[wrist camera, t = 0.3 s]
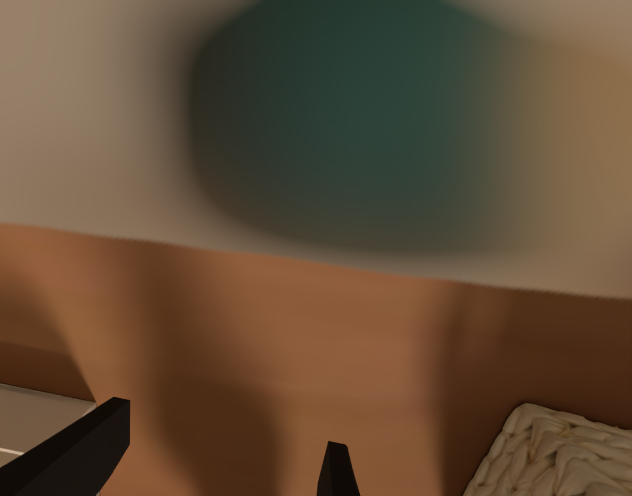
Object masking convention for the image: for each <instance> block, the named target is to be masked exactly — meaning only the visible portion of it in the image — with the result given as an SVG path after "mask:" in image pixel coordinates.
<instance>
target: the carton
mask: <svg viewBox="0 0 632 496" xmlns="http://www.w3.org/2000/svg"><path fill="white" fill-rule="evenodd" d="M95 408H96V402H91V401H86V400H81V399H76V398H71V397H66V396H61V395H56V394H51V393H46V392H41V391H36V390H31V389H26V388H21V387H16V386H11V385H6V384H1V383H0V451H4V452H9V453H14V454H18V455H22V454H24V453H26V452H27V451H29V450H31V449H32V448H34V447H35V446H37V445H39V444H40V443H42V442H43V441H45V440H47V439H48V438H50V437H51V436H53V435H55V434H56V433H58V432H59V431H61V430H63V429H64V428H66V427H67V426H69V425H70V424H72V423H74V422H75V421H77V420H78V419H80V418H81V417H83V416H84V415H86V414H87V413H89V412H91V411H92V410H94V409H95ZM96 496H100V491H99V492H98V494H97V495H96Z"/></svg>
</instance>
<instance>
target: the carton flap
mask: <svg viewBox="0 0 632 496" xmlns="http://www.w3.org/2000/svg"><path fill="white" fill-rule="evenodd" d="M19 456H21V455H18V454H14V453H9V452H4V451H0V467H2V466H4V465H5V464H7V463H9V462H10V461H12V460H14V459H15V458H17V457H19Z"/></svg>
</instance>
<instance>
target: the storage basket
mask: <svg viewBox="0 0 632 496" xmlns="http://www.w3.org/2000/svg"><path fill="white" fill-rule="evenodd" d="M463 496H632V430H623V429H619V428H618V427H617V426H615V427H611V426H608V425H606V424H603V423H600V422H595V423H594V422H591V421H588V420H587V419H585V418H584V416H579V415H575V414H572V413H567V412H563V411H560V412H558V411H555V410H552V409H548V408H545V407H542V406H539V405H535V404H531V403H525V404H523V405H521V406H519V407H517V408H516V409H515V410H514V411H513V412H512V413H511V414H510V416H509V417H508V419H507V420H506V422H505V424H504V426H503V429H502V432H501V433H500V434H499V435H498V436H497V438H496V439H495V441H494V443H493V445H492V446H491V448H490V451H489V453H488V455H487V456H485V457H484V459H483V460H482V462H481V464H480V465H479V467H478V469H477V471H476V473H475V475H474V478H473V479H472V480H471V481H470V482H469V484H468V486H467V488H466V490H465V492H464V494H463Z"/></svg>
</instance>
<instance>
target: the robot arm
mask: <svg viewBox="0 0 632 496" xmlns="http://www.w3.org/2000/svg"><path fill="white" fill-rule="evenodd" d="M129 445H130V400H127V399H122V398H117V397H113V398H111V399H109V400H108V401H106V402H105V403H103V404H101V405H100V406H98V407H97V408H95V409H94V410H92V411H91V412H89V413H87V414H86V415H84V416H83V417H81V418H80V419H78V420H77V421H75V422H74V423H72V424H70V425H69V426H67V427H66V428H64V429H63V430H61V431H59V432H58V433H56V434H55V435H53V436H51V437H50V438H48V439H47V440H45V441H43V442H42V443H40V444H39V445H37V446H35V447H34V448H32V449H31V450H29V451H27V452H26V453H24V454H22V455H21V456H19V457H17V458H15V459H14V460H12V461H10V462H9V463H7V464H5V465H4V466H2V467H0V496H96V495H97V494H98V492H99V491H100V490H101V488H102V487H103V486H104V484H105V483H106V481H107V480H108V479H109V477H110V476H111V474H112V473H113V471H114V469H115V468H116V466H117V465H118V463H119V461H120V460H121V458H122V456H123V455H124V453H125V451H126V450H127V448H128V446H129ZM317 496H360V493H359V490H358V486H357V483H356V479H355V476H354V472H353V469H352V465H351V461H350V456H349V452H348V447H347V446H346V445H345V444H341V443H336V442H331V441H328V445H327V449H326V453H325V457H324V461H323V465H322V469H321V473H320V477H319V481H318V486H317Z"/></svg>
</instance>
